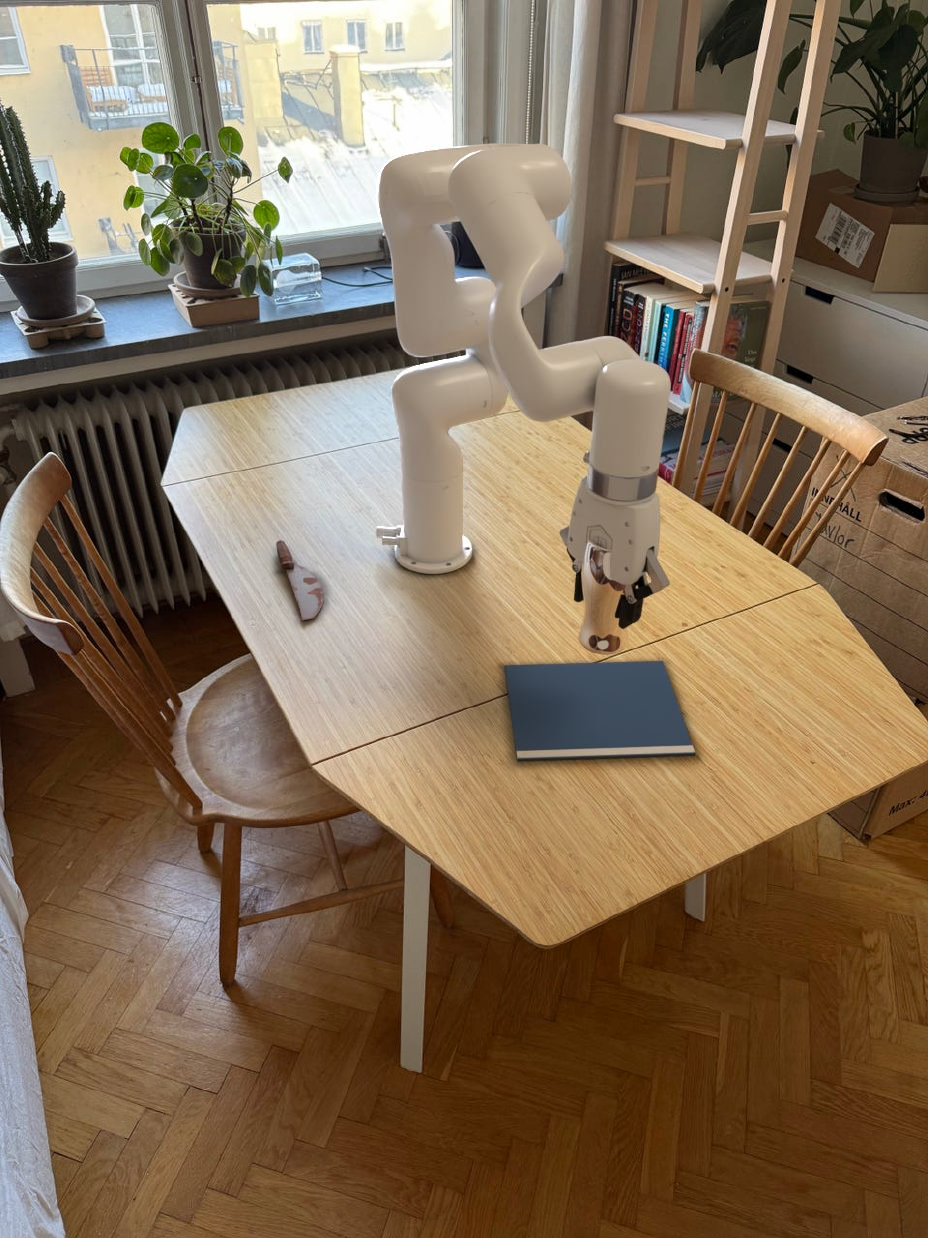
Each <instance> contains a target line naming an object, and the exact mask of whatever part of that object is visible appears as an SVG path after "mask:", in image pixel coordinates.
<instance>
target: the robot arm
mask: <svg viewBox="0 0 928 1238" xmlns="http://www.w3.org/2000/svg"><path fill="white" fill-rule="evenodd" d="M572 187H573V186H572V178H571V173H570V170H569V167H568V166H567V164H566V161H565V160H564V159H563V157H562V156H561V155H560V153H559V152H558V151H557V150H556V149H554V148H553V147H551V146H550V145H547V144H544V143H507V142H506V143H505V142H504V143H503V142H495V143H482V144H471V145H462V146H451V147H438V148H428V149H421V150H415V151H409V152H405V153H402V154H399V155H397V156H394V157H392V158H391V159H389V160H388V161H387V162H386V163H385V164H384V165H383V166H382V168H381V169H380V172H379V174H378V177H377V181H376V191H375V192H376V194H375V197H376V199H375V200H376V207H377V212H378V217H379V221H380V224H381V226H382V230H383V233H384V235H385V237H386V239H385V240H386V242H387V246H388V248H389V252H390V259H391V261H390V262H391V273H392V274H391V275H392V276H391V277H392V286H393V288H392V289H393V301H394V313H395V324H396V333H397V338H398V342H399V345H400V346H401V348H402V350H403V351H404V352H405V353H406V354H408V355H409V356H412V357H416V358H428V357H434V356H440V355H445V354H450V353H455V352H460V351H465V355H462V356H461V355H460V356H457V357H452V358H447V359H441V360H436V361H432V362H427V363H422V364H420V365H415V366H412V367H410V368H407V369H405V370H403V371H402V372H400V373H399V374H398V375H397V376H396V377H395V379H394V380H393V382H392V384H391V389H390V399H391V406H392V410H393V415H394V419H395V423H396V428H397V429H396V430H397V435H398V442H399V457H400V459H399V460H400V473H401V474H400V477H401V499H402V501H401V502H402V504H401V505H402V525H396V527H389V526H377V527H376V534H375V535H376V539H381V545H382V546H394V557H395V559H396V561H397V562H398V564H400V565H401V566H402V567H404V568H405V569H408V570H410V571H412V572H416V573H419V574H426V575H427V574H428V575H437V574H438V575H439V574H446V573H451V572H453V571H456V570H458V569H460V568H462V567H464V566H465V565H467V564H468V562H469V561H470V560H471V558H472V556H473V545H472V542H471V541H470V539H469V538H468V537H467V536H466V535H464V455H463V451H462V448H461V446H460V444H458V442H457V441H456V439H454V438H453V437H452V436H451V435H450V433H449V431H450V430H451V429H453V428H455V427H459V426H461V425H464V424H468V423H473V422H476V421H477V422H478V421H481V420H484V419H487V418H491V417H494V416H496V415H497V414H499V413H500V412H501V411H502V410H503V409H504V407H505V405H506V404H507V400H508V396H510V398H511V400H512V401H513V403H514V405H515V406H516V407H517V408H518V409H519V411H520V412H521V413H522V414H523V415H524V416H525V417H527V418H529V420H532V421H535V422H540V423H547V422H548V423H549V422H553V421H557V420H562V419H565V418H569V417H573V416H577V415H580V414H584V413H587V412H588V413H589V412H590V413H591V412H593V416H592V424H591V434H590V445H589V451H586V452H585V453H584V455H583V457H582V461H583V463H585V464H587V466H588V467H587V475H586V476H584V477H583V478H582V479H581V481H580V483H579V486H578V488H577V491H576V495H575V498H574V502H573V506H572V510H571V515H570V520H569V525H568V526H566V527H564V528H562V529H560V531H559V536H560V537H561V540H562V542H563V545H564V546H565V547H566V552H567V555H568V556H569V558H570V561H571V562H572V564H571V570H572V571H573V572H574V573H575V580H574V592H573V601H574V602H576V603H581V602H583V594H582V584H581V566H582V563H583V559H584V555H585V551H586V547H587V543H588V539H591V540H592V541H593V542H594V543H595V544H597V545H599V546H601V547H604V548H607V549H608V550H610V551H611V556H610V578H611V579H613V580H614V581H616V582H618V583H621V584H623V585H625V588H624V590H625V595H626V599H623V600H622V602H621V608H620V615H619V623H618V625H619V627H620V628H622V629H625V628H626V627H627V628H628V627H630V626H632V625H633V624H635V623H637V622H639V621H640V619H641V617H642V613H643V605H644V599H646V598H648V597H649V596H650V597H651V596H652V595H655V594H656V593H659V592H661V591H663V590H665V589H667V588H668V587H670V585H671V582H670V580H669V577H668V576H667V573H665V570H664V569H663V566H662V564H661V563H660V561H659V560H658V557H659V549H660V538H661V504H660V495H659V494H658V493H657V492H656V491H657V485H658V478H659V470H660V464H661V463H660V462H661V458H662V457H661V456H662V452H663V451H662V450H663V443H664V436H665V431H666V430H665V429H666V423H667V415H668V410H669V403H670V395H671V388H672V384H671V378H670V375H669V373H668V372H667V370H666V369H664V367H662V366H660V365H658V364H656V363H655V362H651V361H648V360H644V359H643V358H642V357H641V356H640V355H639V354H638V353H637V352H636V351H635V350H634V349H633V348H632V347H631V345H629V344H628V342H626V341H625V340H623V339H621V338H619V337H616V336H612V335H603V336H597V337H593V338H589V339H588V338H587V339H584V340H577V341H573V342H567V343H562V344H559V345H553V346H549V347H544V348H541V349H540V348H538V346H537V345H536V343H535V341H534V340H533V337H532V336H531V334H530V332H529V330H528V328H527V326H526V324H525V322H524V319H523V315H522V309H523V308H524V307H525V306H526V305H528V304H529V303H530V302H532V301H533V300H534V299H536V298H537V297H538V296H540V295H541V294H542V293H543V292H544V291H546V289H548V288H549V287H550V286H551V285H552V284H553V282H554V281H556V279H557V277H558V276H559V274H560V273H561V271H562V269H563V266H564V264H565V251H564V248H563V247H562V244H561V243H560V241H559V239H558V238H557V235H556V234H555V232H554V230H553V228H552V227H551V225H550V224H549V221H552V220H556V219H558V218H559V217H561V216H562V215H563V214H564V213H565V212H566V210H567V208H568V207H569V204H570V201H571V197H572V189H573V188H572ZM455 222H457V223H458V222H460V223H461V225H462V227H463V229H464V231H465V233H466V234H467V237H468V239H469V240H470V242H471V244H472V246H473V247H474V249H475V251H476V254H477V255H478V257H479V259H480V261H481V263H482V265H483V266H484V269H485V270H486V273H487V274H488V276H489V278H490V279H489V278H487V277H483V276H468V277H463V278H457V279H456V264H455V260H456V258H455V251H454V246H453V244H452V242H451V240H450V238H449V236H448V235H447V233H446V232H445V230H444V229H443V227H441V225H442V224H448V223H455ZM440 224H441V225H440ZM508 394H509V395H508ZM609 555H610V554H609ZM647 575H648V577H649V579H650V582H648V578H647ZM637 580H638V584H637V586H638V588H637V589H635V586H634V583H635V582H637Z"/></svg>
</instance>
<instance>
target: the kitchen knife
mask: <svg viewBox="0 0 928 1238" xmlns="http://www.w3.org/2000/svg"><path fill="white" fill-rule="evenodd" d="M275 545H276V552H277V557H278V560H279V564H280V565H281V570H282V571H283V572H284V573H286V575H287V578H288V581H289V584H290V586H291V590H292V592H293V595H294V598H295V600H296V604H297V607H298V609H299V612H300V617H301V621H307V620H308V621H309V620H312V619H315V618H316V617H317V615H318V614H319V612H320V610H321V609H322V607H323V606H324V597H325V595H324V591H323V590H324V589H323V587H322V585H321V583H320V582H319V579H318V578H317V576H315V575H314V573H313V572H312V571H310V570H308V569H307V568H306V567H304V566H302V565H298V564H297V563H296V564H295V563H294V561H293V556H292V554H291V552H290V550H289V546H287V543H285V541H283V540H282V539H279V540H278V541H276V544H275Z"/></svg>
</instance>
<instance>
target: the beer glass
mask: <svg viewBox="0 0 928 1238" xmlns="http://www.w3.org/2000/svg"><path fill="white" fill-rule="evenodd" d="M609 554H610V555H609ZM610 556H611V551H610V550H608V549H607V548H604V547H601V546H599V545H597V544H595V543H594V542H593V541H592V540H591V539H588V543H587V547H586V551H585V555H584V559H583V563H582V566H581V584H582V594H583V601H582V602H583V617H582V621H581V624H580V627H579V630H578V634H577V639H578V643H579V644H580V646H582V648H584V649H585V650H587V651H588V652H590V653H592V654H593V653H594V654H597V655H605V656H606V655H607V656H608V655H615V654H617V653H620V652H622V651H623V650H625V648H626V647H627V645H628V644H629V643H628V642H629V634H628V627H626V628H625V629H622V628H620V627H619V625H618V623H619V615H620V608H621V602H622V600H623V599H626V595H625V590H624V588H625V585H623V584H621V583H618V582H616V581H614V580H613V579H611V578H610ZM637 584H638V580H637V582H635V583H634V586H635V589H637V588H638V586H637Z"/></svg>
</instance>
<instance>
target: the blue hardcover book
mask: <svg viewBox="0 0 928 1238" xmlns="http://www.w3.org/2000/svg"><path fill="white" fill-rule="evenodd" d="M504 672H505V679H506V687H507V694H508V702H509V710H510V716H511V725H512V731H513V738H514V746H515V747H514V748H515V754H516V760H517V762H541V761H545V762H546V761H569V760H571V761H572V760H575V761H577V760H601V759H602V760H603V759H605V760H606V759H607V760H608V759H633V758H634V759H635V758H637V759H638V758H664V757H665V758H666V757H689V756H690V757H693V756H696V751H695V750H696V749H695V748H694V745H693V742H692V740H691V739H692V738H691V736H690V734H689V731H688V728H687V725H686V723H685V720H684V716H683V713H682V710H681V708H680V705H679V703H678V699H677V696H676V694H675V692H674V688H673V685H672V683H671V680H670V676H669V674H668V671H667V669H666V666H665V663H664V660H645V661H644V660H641V661H608V662H605V661H604V662H603V661H602V662H601V661H600V662H572V663H571V662H570V663H539V664H534V663H533V664H531V663H529V664H505V665H504Z"/></svg>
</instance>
